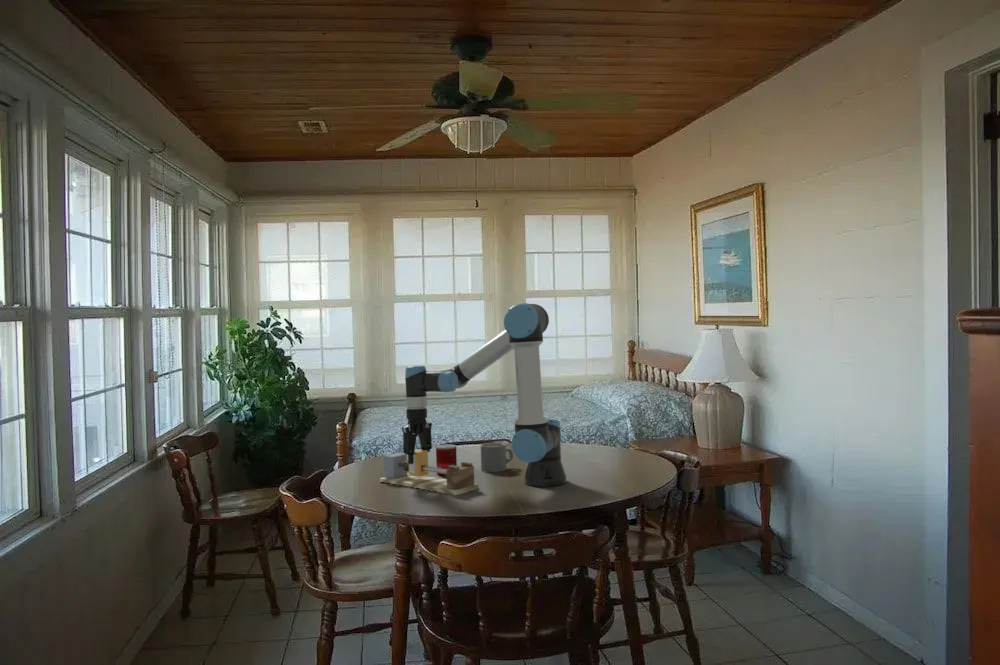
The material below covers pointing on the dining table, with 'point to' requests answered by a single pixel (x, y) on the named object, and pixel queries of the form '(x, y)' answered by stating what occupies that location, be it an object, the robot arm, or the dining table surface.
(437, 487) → the rail board
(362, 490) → the dining table surface
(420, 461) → the tan block with hole
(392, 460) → the block
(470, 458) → the dining table surface
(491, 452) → the coffee mug
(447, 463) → the canned food
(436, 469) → the rail rod
